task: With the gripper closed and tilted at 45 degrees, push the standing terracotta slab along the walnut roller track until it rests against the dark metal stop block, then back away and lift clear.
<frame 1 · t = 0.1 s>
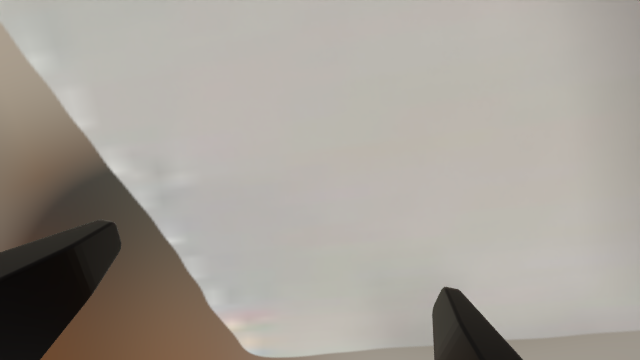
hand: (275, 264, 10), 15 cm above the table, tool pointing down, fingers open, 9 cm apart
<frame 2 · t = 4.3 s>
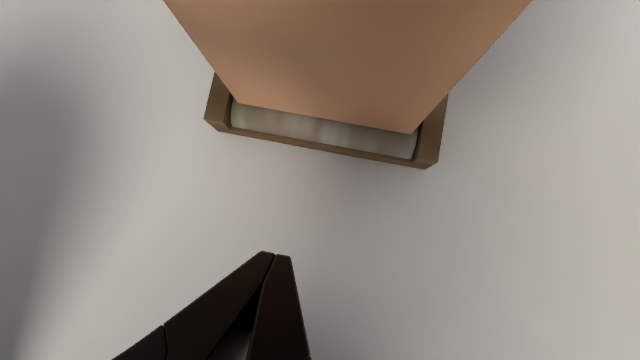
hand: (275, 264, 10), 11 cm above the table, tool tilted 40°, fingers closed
roller track: (343, 32, 22), on the table
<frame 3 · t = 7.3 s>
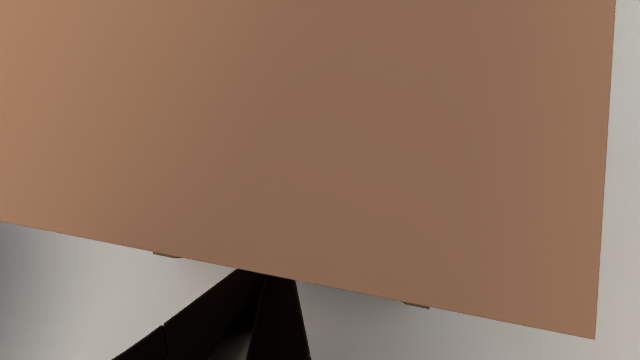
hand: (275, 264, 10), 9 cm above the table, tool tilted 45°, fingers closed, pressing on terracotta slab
terracotta slab: (299, 151, 11), point 8 cm above the table, slide at 0.1 cm, touching gripper
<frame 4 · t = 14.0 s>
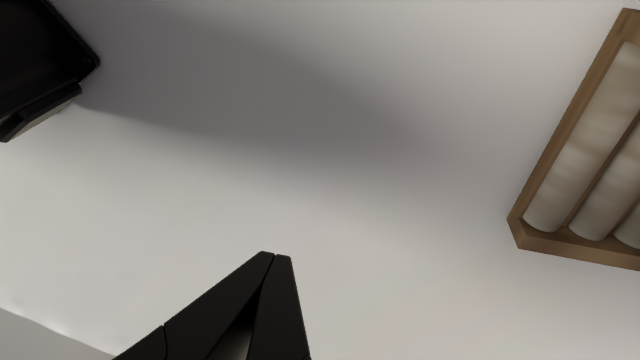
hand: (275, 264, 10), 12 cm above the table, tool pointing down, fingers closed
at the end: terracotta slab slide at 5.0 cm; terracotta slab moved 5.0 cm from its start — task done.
